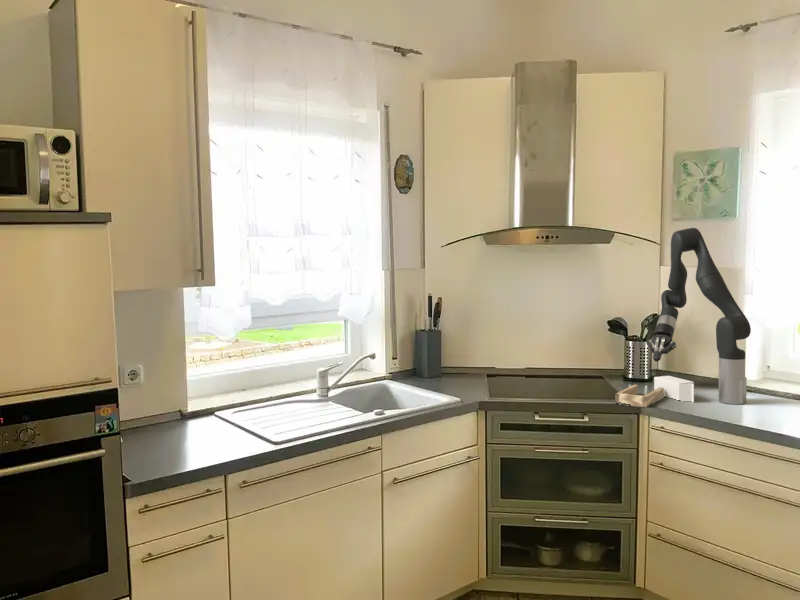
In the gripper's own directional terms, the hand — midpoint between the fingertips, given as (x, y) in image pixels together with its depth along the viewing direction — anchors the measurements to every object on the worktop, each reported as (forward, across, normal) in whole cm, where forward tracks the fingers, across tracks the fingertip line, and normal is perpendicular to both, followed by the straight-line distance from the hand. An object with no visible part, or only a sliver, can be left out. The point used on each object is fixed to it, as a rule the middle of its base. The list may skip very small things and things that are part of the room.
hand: (656, 360), depth 285 cm
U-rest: (+24, 0, -5) cm, 24 cm away
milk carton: (+8, +3, +5) cm, 10 cm away
